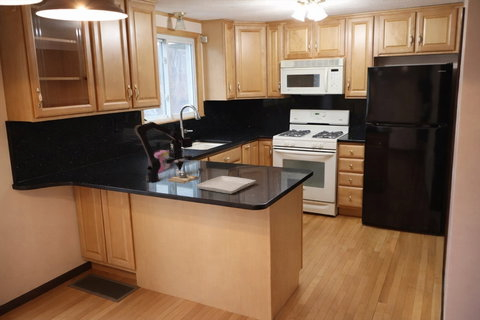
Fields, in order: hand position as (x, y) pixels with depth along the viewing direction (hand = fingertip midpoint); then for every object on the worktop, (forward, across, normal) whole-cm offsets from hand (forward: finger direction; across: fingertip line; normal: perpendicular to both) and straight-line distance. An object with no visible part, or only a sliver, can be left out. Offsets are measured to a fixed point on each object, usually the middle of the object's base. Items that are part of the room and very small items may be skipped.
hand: (179, 171), depth 279 cm
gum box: (+4, +4, -33) cm, 33 cm away
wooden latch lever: (+2, +1, +5) cm, 5 cm away
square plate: (+5, -14, +44) cm, 46 cm away
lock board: (+4, +1, +8) cm, 10 cm away
